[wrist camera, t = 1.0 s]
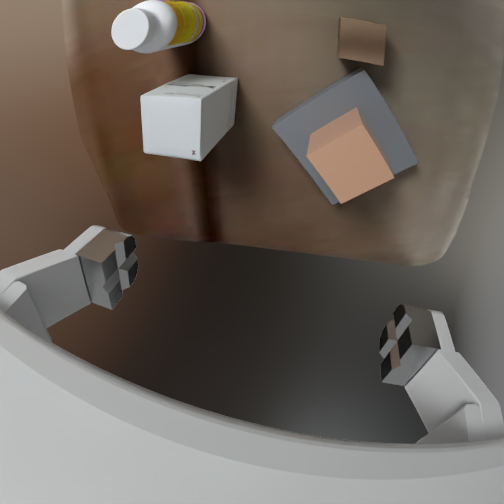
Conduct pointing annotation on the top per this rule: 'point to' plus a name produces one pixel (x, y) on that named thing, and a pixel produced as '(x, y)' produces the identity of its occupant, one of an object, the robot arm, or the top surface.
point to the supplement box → (188, 115)
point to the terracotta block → (349, 156)
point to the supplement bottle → (158, 26)
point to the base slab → (335, 105)
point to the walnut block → (361, 40)
